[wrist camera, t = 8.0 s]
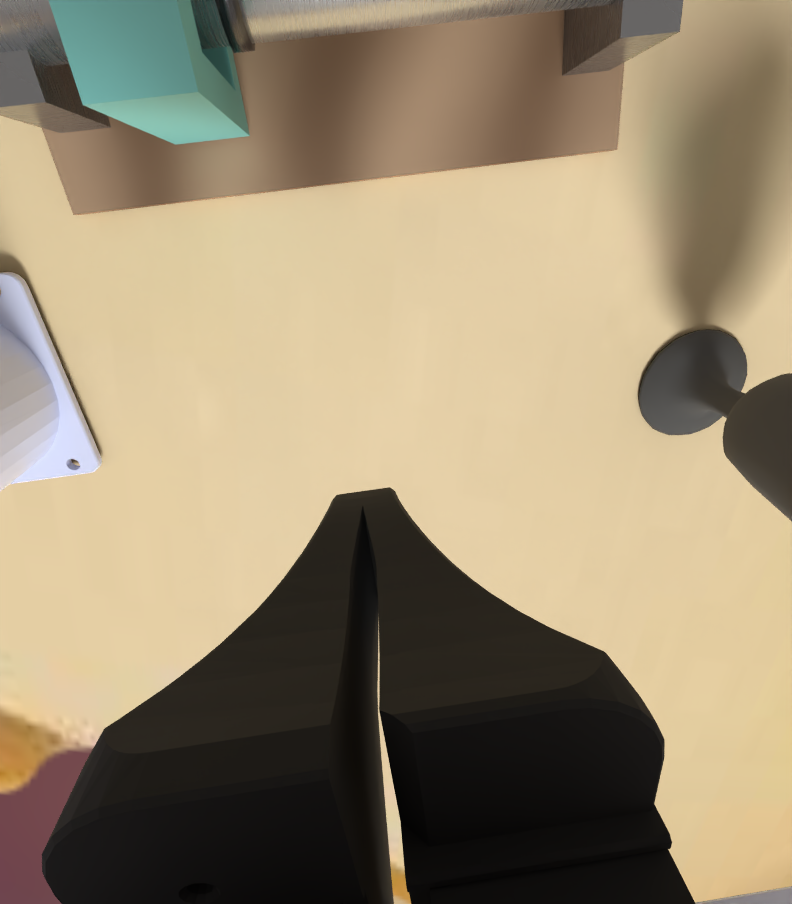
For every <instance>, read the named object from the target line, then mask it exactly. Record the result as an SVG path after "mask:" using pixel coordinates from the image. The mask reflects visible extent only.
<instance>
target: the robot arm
mask: <svg viewBox="0 0 792 904" xmlns="http://www.w3.org/2000/svg"><path fill="white" fill-rule="evenodd" d="M0 289H1V295H0V491H2V490H3V489H4V488H5V487H7V486H8V485H9V484H14V483H21V482H28V481H35V480H43V479H50V478H57V477H64V476H71V475H78V474H86V473H91V472H94V471H96V470H97V469H98V468H99V467H100V466H101V463H102V459H101V456H100V453H99V451H98V449H97V446H96V444H95V442H94V439H93V437H92V435H91V432H90V430H89V428H88V425H87V423H86V421H85V418H84V416H83V414H82V411H81V409H80V407H79V404H78V402H77V400H76V397H75V395H74V393H73V390H72V388H71V386H70V383H69V381H68V378H67V376H66V374H65V371H64V369H63V367H62V364H61V362H60V360H59V357H58V355H57V353H56V350H55V348H54V346H53V343H52V341H51V339H50V336H49V334H48V332H47V329H46V327H45V325H44V322H43V320H42V318H41V315H40V313H39V311H38V308H37V306H36V304H35V301H34V299H33V297H32V294H31V292H30V289H29V287H28V285H27V283H26V282H25V280H24V279H23V278H22V277H21V276H19V275H18V274H15V273H13V272H2V273H0ZM71 459H75V460H77V461H78V462H79V463H80V466H77V465H75V464H73V463H72V461H71ZM378 621H379V646H380V703H379V711H380V716H381V721H382V726H383V732H384V737H385V742H386V747H387V753H388V758H389V763H390V768H391V774H392V779H393V784H394V789H395V794H396V800H397V805H398V810H399V815H400V821H401V831H402V843H403V855H404V866H405V878H406V886H407V891H408V892H409V894H410V899H411V904H792V886H791V887H785V888H779V889H773V890H767V891H761V892H756V893H750V894H744V895H738V896H732V897H726V898H720V899H714V900H709V901H703V902H697V903H695V902H694V900H693V898H692V896H691V894H690V892H689V890H688V888H687V886H686V884H685V882H684V880H683V878H682V876H681V874H680V872H679V870H678V868H677V866H676V864H675V862H674V860H673V858H672V856H671V854H670V852H669V850H668V849H670V848H671V844H672V841H671V838H670V834H669V832H668V830H667V828H666V826H665V824H664V822H663V820H662V818H661V816H660V814H659V813H658V811H657V809H656V807H655V805H654V802H655V797H656V793H657V788H658V784H659V779H660V774H661V770H662V765H663V761H664V738H663V736H662V734H661V731H660V729H659V727H658V725H657V723H656V721H655V720H654V718H653V716H652V715H651V713H650V711H649V710H648V708H647V707H646V705H645V703H644V702H643V700H642V699H641V697H640V696H639V694H638V693H637V692H636V691H635V689H634V688H633V687H632V685H631V684H630V683H629V681H628V680H627V679H626V678H625V676H624V675H623V674H622V673H621V671H620V670H619V669H618V667H617V666H616V665H615V664H614V662H613V661H612V660H611V659H610V657H609V656H608V655H607V654H606V653H605V652H604V651H602V650H599V649H597V648H595V647H593V646H590V645H588V644H586V643H583V642H581V641H579V640H577V639H574V638H572V637H570V636H567V635H565V634H563V633H561V632H558V631H556V630H554V629H552V628H550V627H548V626H546V625H544V624H542V623H540V622H538V621H536V620H534V619H533V618H531V617H529V616H527V615H525V614H523V613H521V612H520V611H518V610H516V609H515V608H513V607H511V606H510V605H508V604H507V603H505V602H504V601H502V600H501V599H499V598H497V597H496V596H494V595H493V594H491V593H490V592H488V591H487V590H485V589H484V588H483V587H481V586H480V585H479V584H477V583H476V582H475V581H473V580H472V579H471V578H470V577H468V576H467V575H466V574H465V573H464V572H462V571H461V570H460V569H459V568H458V567H456V566H455V565H454V564H453V563H452V562H451V561H450V560H449V559H448V558H447V557H446V556H445V555H444V554H443V553H442V552H441V551H440V550H439V549H438V548H437V547H436V546H435V545H434V544H433V543H432V542H431V541H430V540H429V539H428V538H427V537H426V536H425V534H424V533H423V532H422V531H421V530H420V528H419V527H418V526H417V525H416V524H415V522H414V521H413V520H412V518H411V517H410V516H409V514H408V513H407V511H406V510H405V509H404V507H403V506H402V504H401V502H400V501H399V499H398V497H397V495H396V492H395V491H394V490H393V489H391V488H383V489H376V490H368V491H361V492H354V493H347V494H340V495H336V497H335V498H334V499H333V500H332V502H331V505H330V507H329V509H328V510H327V512H326V514H325V516H324V518H323V520H322V522H321V523H320V525H319V527H318V529H317V530H316V532H315V533H314V535H313V537H312V538H311V540H310V541H309V543H308V545H307V546H306V548H305V549H304V551H303V552H302V554H301V555H300V557H299V558H298V559H297V561H296V562H295V563H294V565H293V566H292V568H291V569H290V570H289V572H288V573H287V574H286V576H285V577H284V578H283V580H282V581H281V582H280V583H279V585H278V586H277V587H276V588H275V590H274V591H273V592H272V593H271V594H270V595H269V597H268V598H267V599H266V600H265V601H264V602H263V603H262V604H261V605H260V607H259V608H258V609H257V610H256V611H255V612H254V613H253V614H252V615H251V616H250V617H248V618H247V619H246V620H245V621H244V622H243V623H242V624H241V625H240V626H239V627H238V628H237V629H236V630H235V631H234V632H233V633H232V634H231V635H229V636H228V637H227V638H226V639H225V640H224V641H223V642H222V643H221V644H220V645H218V646H217V647H216V648H215V649H214V650H213V651H211V652H210V653H209V654H208V655H207V656H205V657H204V658H203V659H202V660H201V661H199V662H198V663H197V664H195V665H194V666H193V667H192V668H190V669H189V670H188V671H186V672H185V673H184V674H183V675H181V676H180V677H179V678H177V679H176V680H175V681H173V682H172V683H171V684H169V685H168V686H167V687H165V688H164V689H162V690H161V691H160V692H158V693H157V694H155V695H154V696H152V697H151V698H149V699H148V700H146V701H145V702H143V703H142V704H141V705H139V706H138V707H136V708H135V709H133V710H132V711H130V712H129V713H127V714H126V715H125V716H123V717H122V718H120V719H119V720H117V721H116V722H114V723H112V724H111V725H109V726H108V727H106V728H105V729H104V730H103V732H102V734H101V736H100V738H99V739H98V741H97V743H96V745H95V747H94V748H93V750H92V752H91V754H90V755H89V757H88V759H87V761H86V763H85V765H84V767H83V769H82V771H81V773H80V775H79V777H78V779H77V782H76V784H75V786H74V788H73V790H72V792H71V794H70V796H69V799H68V801H67V803H66V805H65V807H64V809H63V811H62V814H61V815H60V817H59V820H58V822H57V824H56V826H55V828H54V830H53V832H52V834H51V836H50V838H49V841H48V843H47V845H46V847H45V849H44V851H43V853H42V872H43V875H44V877H45V879H46V881H47V883H48V884H49V886H50V888H51V890H52V892H53V893H54V895H55V896H56V897H57V899H58V900H59V901H60V902H61V903H62V904H394V902H393V891H392V880H391V868H390V856H389V845H388V833H387V822H386V810H385V797H384V785H383V773H382V760H381V747H380V734H379V721H378V698H377V681H378Z"/></svg>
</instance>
